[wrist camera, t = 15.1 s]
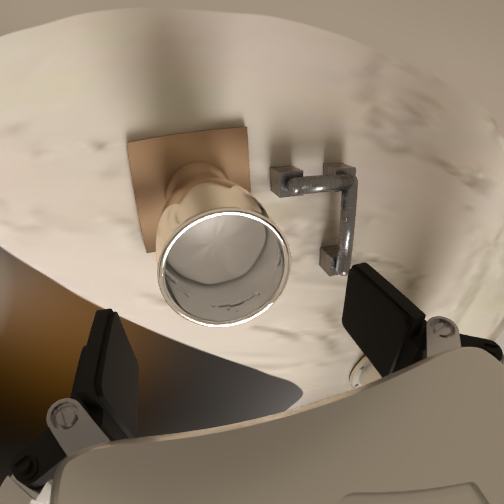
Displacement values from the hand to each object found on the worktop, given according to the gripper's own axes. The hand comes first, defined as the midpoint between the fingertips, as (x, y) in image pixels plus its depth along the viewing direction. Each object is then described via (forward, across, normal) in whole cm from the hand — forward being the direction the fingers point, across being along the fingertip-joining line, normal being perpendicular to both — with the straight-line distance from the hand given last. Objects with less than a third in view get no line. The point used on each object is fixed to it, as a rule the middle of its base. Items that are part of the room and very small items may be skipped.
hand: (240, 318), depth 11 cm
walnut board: (+19, +1, -1) cm, 19 cm away
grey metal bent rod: (+19, -11, +4) cm, 23 cm away
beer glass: (+18, 0, 0) cm, 19 cm away
